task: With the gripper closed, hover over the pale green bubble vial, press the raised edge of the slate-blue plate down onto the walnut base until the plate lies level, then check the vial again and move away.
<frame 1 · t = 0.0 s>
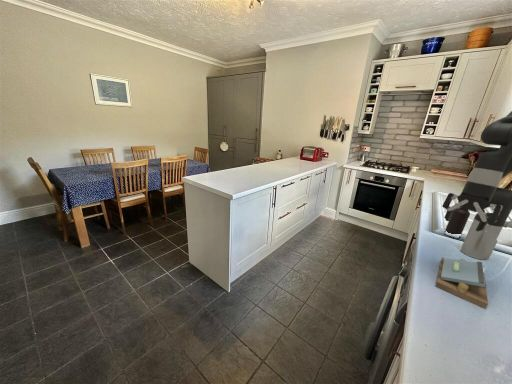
hand: (461, 225, 76), 22 cm above the countertop, tool pointing down, fingers open, 8 cm apart
level plate: (462, 268, 79), point 5 cm above the countertop, hinge at 20.0°
bottle: (451, 236, 117), on the countertop
vegetable: (449, 228, 127), on the countertop
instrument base: (459, 281, 80), on the countertop
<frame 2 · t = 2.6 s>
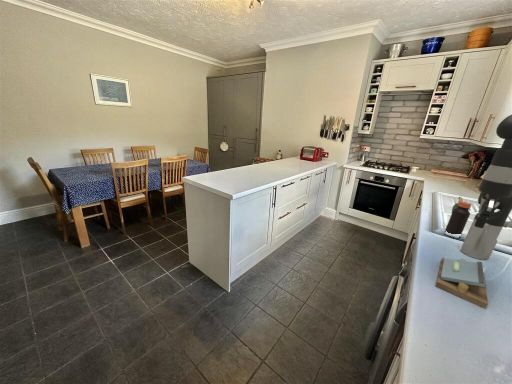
hand: (478, 226, 74), 23 cm above the countertop, tool pointing down, fingers closed
nothing on the countertop moved.
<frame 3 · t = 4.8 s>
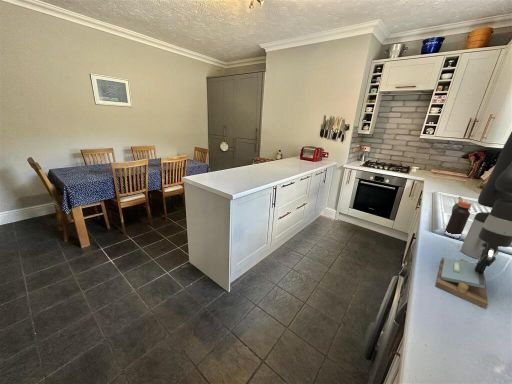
hand: (478, 271, 76), 7 cm above the countertop, tool pointing down, fingers closed
level plate: (462, 269, 79), point 5 cm above the countertop, hinge at 17.2°, touching gripper
everything else where it was.
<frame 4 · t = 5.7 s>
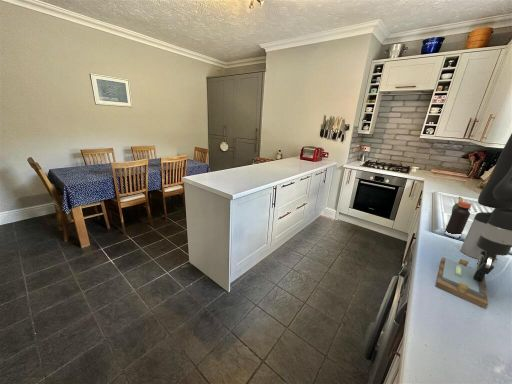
hand: (477, 279, 77), 4 cm above the countertop, tool pointing down, fingers closed
level plate: (463, 274, 79), point 3 cm above the countertop, hinge at -0.6°, touching gripper, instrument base
everything else where it was.
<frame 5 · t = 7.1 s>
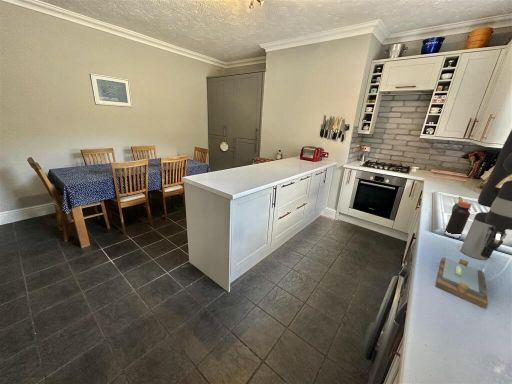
hand: (484, 256, 74), 13 cm above the countertop, tool pointing down, fingers closed
level plate: (463, 274, 79), point 3 cm above the countertop, hinge at -0.6°, touching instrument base
everything else where it was.
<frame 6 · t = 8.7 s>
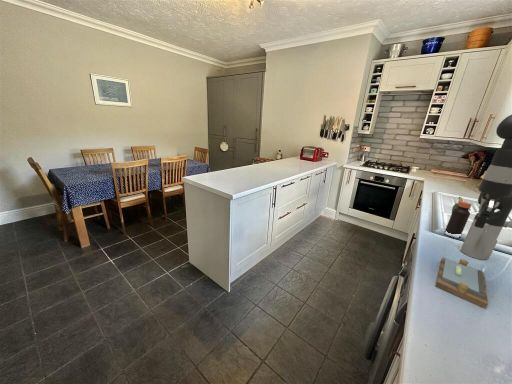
hand: (478, 226, 74), 23 cm above the countertop, tool pointing down, fingers closed
nothing on the countertop moved.
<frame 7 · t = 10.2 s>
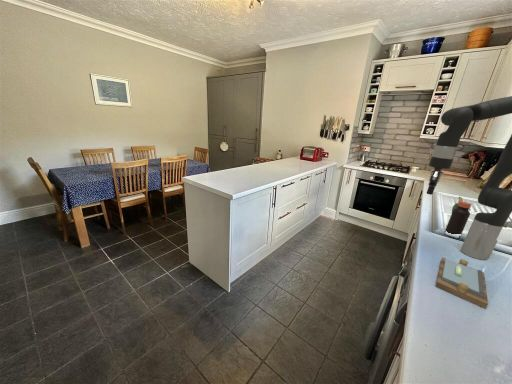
hand: (429, 193, 96), 27 cm above the countertop, tool pointing down, fingers closed
nothing on the countertop moved.
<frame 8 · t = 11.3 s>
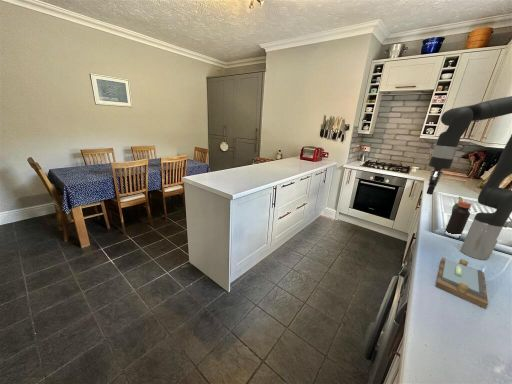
hand: (429, 193, 96), 27 cm above the countertop, tool pointing down, fingers closed
nothing on the countertop moved.
at the end: level plate at -1° (first picture: +20°); bottle moved 0.2 cm from its start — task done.
